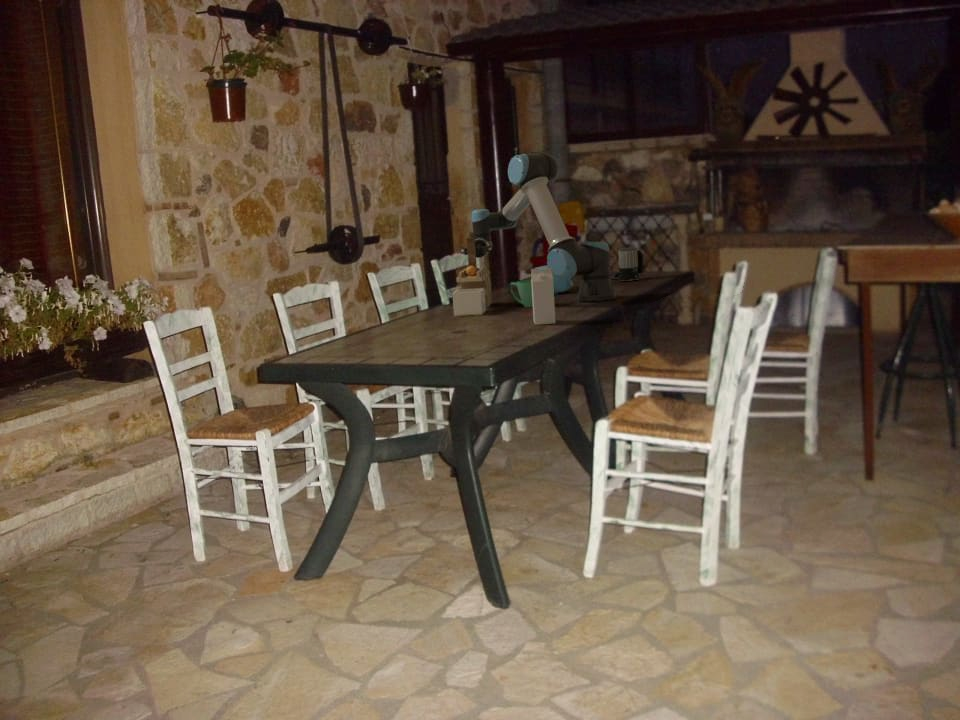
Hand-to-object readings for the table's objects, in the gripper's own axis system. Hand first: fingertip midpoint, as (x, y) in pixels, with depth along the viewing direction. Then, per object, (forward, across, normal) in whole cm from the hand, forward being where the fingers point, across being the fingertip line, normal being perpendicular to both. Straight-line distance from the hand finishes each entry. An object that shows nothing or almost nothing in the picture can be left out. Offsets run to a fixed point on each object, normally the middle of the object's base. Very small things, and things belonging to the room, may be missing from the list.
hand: (470, 253), depth 381 cm
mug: (+3, -21, -22) cm, 31 cm away
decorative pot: (-34, -29, -22) cm, 50 cm away
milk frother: (-67, -60, -22) cm, 92 cm away
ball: (+7, -1, -6) cm, 9 cm away
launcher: (+2, -1, -22) cm, 22 cm away
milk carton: (+48, -32, -22) cm, 62 cm away
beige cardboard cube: (+16, -1, -22) cm, 27 cm away
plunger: (+2, -1, -8) cm, 8 cm away
